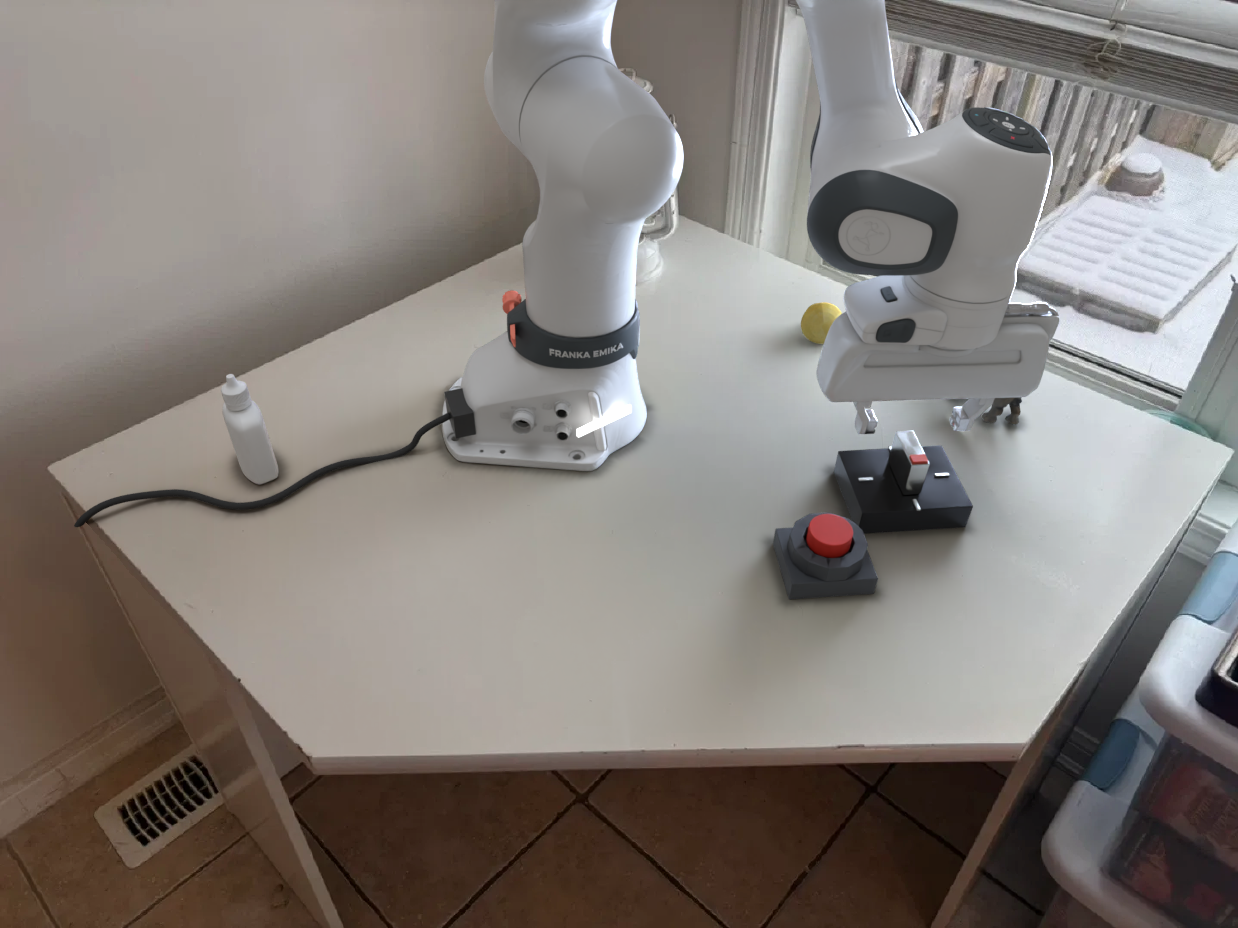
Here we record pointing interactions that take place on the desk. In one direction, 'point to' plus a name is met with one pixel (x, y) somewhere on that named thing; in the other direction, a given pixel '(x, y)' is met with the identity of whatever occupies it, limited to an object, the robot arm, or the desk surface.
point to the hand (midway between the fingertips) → (911, 428)
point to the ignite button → (829, 535)
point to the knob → (818, 321)
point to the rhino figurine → (998, 410)
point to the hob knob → (908, 462)
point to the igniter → (822, 564)
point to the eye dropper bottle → (248, 432)
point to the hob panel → (900, 493)
